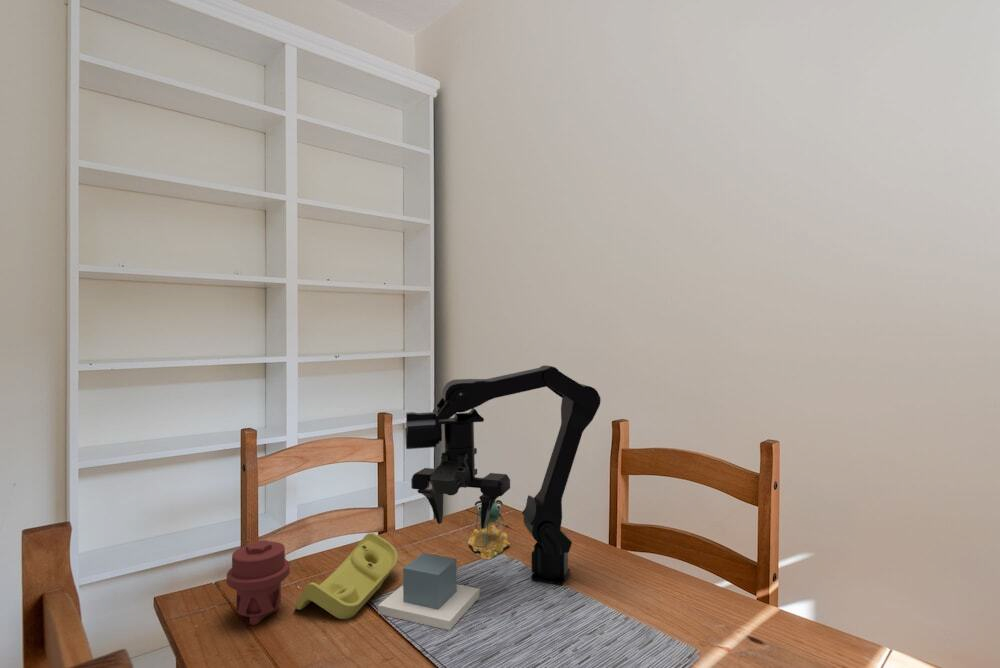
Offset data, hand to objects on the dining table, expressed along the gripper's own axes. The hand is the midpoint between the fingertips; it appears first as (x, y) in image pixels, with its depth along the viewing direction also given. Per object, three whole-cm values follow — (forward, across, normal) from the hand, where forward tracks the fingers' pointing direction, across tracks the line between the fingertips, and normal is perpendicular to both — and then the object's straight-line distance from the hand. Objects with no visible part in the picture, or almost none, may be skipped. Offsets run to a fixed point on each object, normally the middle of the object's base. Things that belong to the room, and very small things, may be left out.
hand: (461, 525), depth 104 cm
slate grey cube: (+10, -2, -9) cm, 13 cm away
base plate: (+12, -2, -9) cm, 15 cm away
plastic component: (+12, -18, -10) cm, 24 cm away
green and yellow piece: (+12, -2, +21) cm, 24 cm away
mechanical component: (+11, -29, -22) cm, 38 cm away
